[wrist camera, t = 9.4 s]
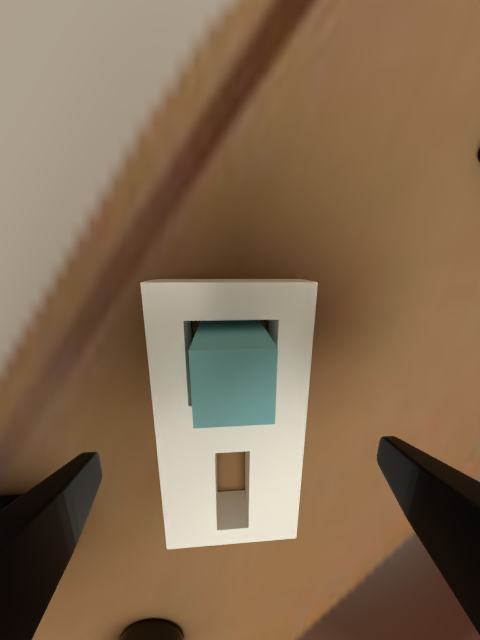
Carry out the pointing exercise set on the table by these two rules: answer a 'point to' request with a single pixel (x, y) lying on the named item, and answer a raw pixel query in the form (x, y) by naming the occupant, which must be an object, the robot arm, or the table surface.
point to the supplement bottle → (152, 631)
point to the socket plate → (255, 440)
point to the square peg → (232, 374)
